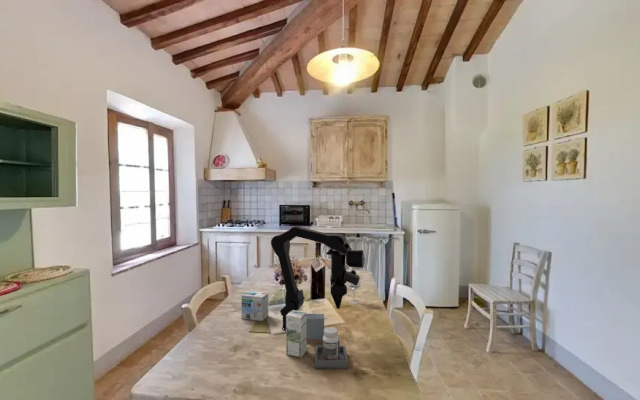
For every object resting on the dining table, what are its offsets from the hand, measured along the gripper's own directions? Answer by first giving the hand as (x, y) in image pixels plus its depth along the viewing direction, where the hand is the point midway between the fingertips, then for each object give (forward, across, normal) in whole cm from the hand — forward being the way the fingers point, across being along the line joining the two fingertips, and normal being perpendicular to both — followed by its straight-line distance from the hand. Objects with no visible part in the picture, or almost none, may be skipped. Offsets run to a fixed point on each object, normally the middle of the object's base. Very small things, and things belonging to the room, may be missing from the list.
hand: (337, 304), depth 133 cm
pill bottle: (+12, -21, +3) cm, 24 cm away
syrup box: (+12, -16, +15) cm, 25 cm away
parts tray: (+12, -21, +3) cm, 24 cm away
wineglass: (+12, +36, -9) cm, 39 cm away
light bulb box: (+12, +16, +37) cm, 42 cm away
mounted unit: (+12, -5, +9) cm, 16 cm away
